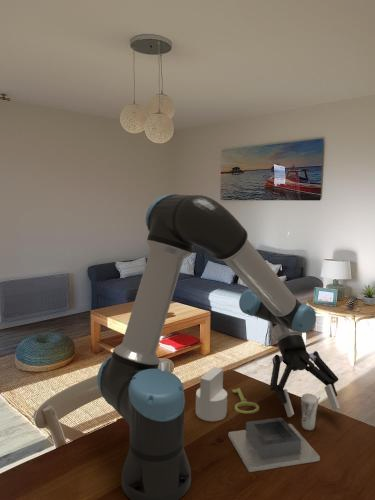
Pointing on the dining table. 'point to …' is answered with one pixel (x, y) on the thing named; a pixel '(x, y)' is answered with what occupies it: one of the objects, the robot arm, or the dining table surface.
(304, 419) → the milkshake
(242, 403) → the key
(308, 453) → the holder
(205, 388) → the base with upright slab
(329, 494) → the dining table surface
